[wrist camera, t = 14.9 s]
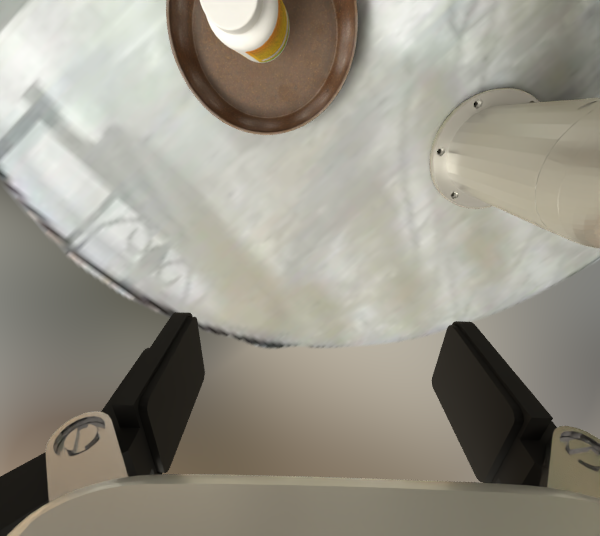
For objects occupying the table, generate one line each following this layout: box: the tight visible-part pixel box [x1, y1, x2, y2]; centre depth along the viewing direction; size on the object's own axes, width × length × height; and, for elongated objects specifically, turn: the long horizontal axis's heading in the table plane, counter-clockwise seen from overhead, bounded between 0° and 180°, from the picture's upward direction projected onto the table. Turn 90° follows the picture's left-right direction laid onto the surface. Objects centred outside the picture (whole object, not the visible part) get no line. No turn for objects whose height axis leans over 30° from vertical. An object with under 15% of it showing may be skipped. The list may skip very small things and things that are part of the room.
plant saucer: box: [166, 0, 358, 135], centre depth 29 cm, size 18×18×3 cm
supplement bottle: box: [200, 0, 290, 63], centre depth 23 cm, size 5×5×10 cm
